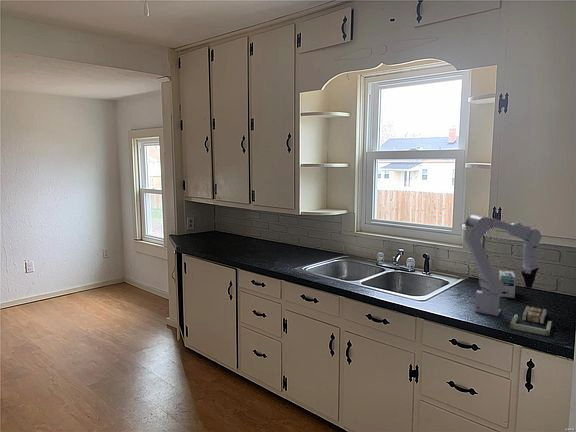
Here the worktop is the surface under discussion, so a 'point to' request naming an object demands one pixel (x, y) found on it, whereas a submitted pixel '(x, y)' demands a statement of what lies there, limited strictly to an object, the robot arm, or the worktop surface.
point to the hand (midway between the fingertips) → (529, 285)
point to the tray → (529, 328)
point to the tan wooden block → (533, 316)
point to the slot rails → (528, 312)
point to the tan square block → (535, 310)
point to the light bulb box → (507, 283)
